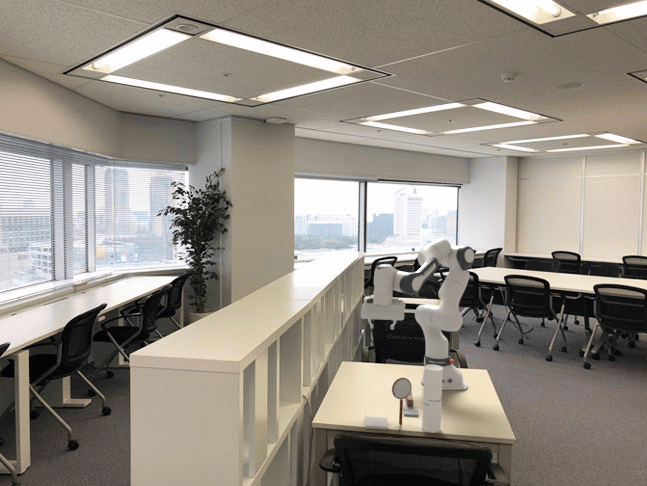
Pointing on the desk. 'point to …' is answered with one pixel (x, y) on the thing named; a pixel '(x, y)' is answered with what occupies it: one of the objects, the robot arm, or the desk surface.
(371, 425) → the glazed tile
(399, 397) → the magnifying glass
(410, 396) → the turner
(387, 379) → the desk surface
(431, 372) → the cylindrical container
